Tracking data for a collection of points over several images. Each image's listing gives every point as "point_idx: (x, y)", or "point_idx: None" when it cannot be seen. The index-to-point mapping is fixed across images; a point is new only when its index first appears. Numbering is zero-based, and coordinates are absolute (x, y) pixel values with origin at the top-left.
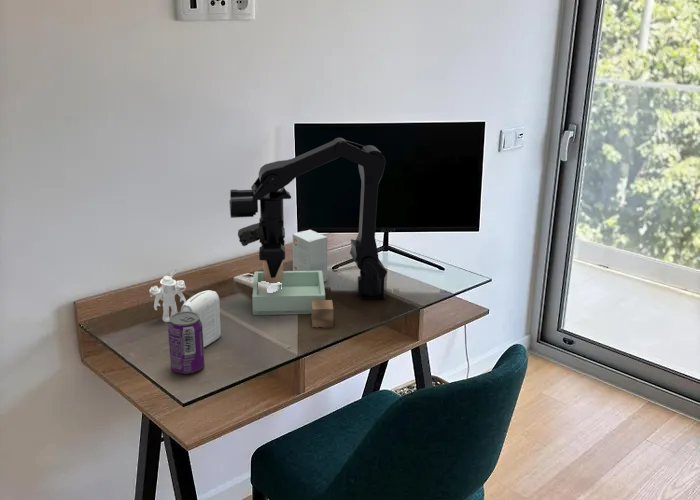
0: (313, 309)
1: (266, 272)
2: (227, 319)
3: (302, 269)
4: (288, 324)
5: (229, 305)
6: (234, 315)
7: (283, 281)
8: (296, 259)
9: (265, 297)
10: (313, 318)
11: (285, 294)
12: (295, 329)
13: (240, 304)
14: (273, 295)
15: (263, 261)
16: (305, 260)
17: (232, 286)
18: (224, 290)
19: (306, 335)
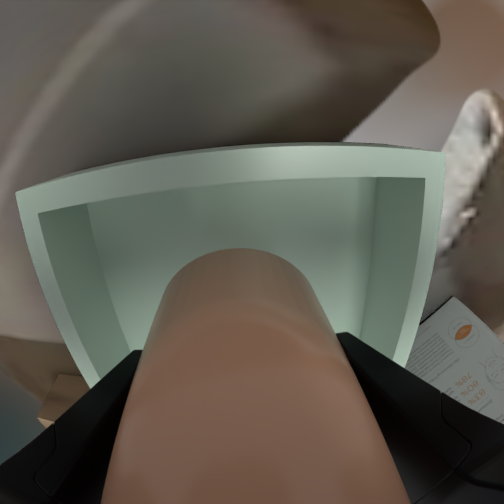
0: (39, 418)
1: (150, 338)
2: (39, 76)
3: (431, 369)
4: (47, 316)
5: (173, 33)
6: (68, 89)
7: (378, 300)
8: (480, 361)
9: (37, 267)
10: (49, 396)
11: (92, 365)
12: (31, 333)
13: (185, 81)
14: (59, 312)
15: (167, 419)
16: None
17: (402, 43)
18: (357, 5)
19: (20, 355)
